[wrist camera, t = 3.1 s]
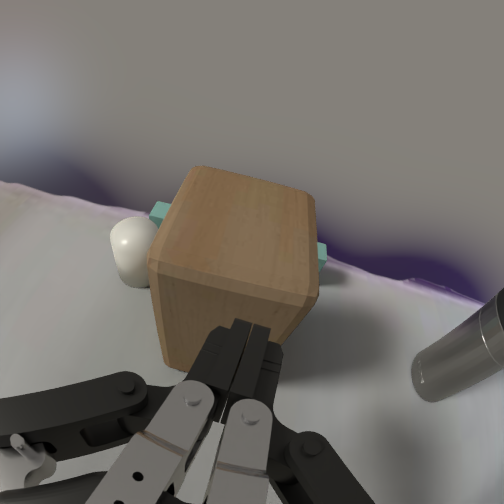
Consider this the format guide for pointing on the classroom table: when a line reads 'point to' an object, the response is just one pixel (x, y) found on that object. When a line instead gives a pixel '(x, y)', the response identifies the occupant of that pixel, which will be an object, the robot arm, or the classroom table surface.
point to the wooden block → (231, 261)
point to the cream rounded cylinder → (133, 249)
